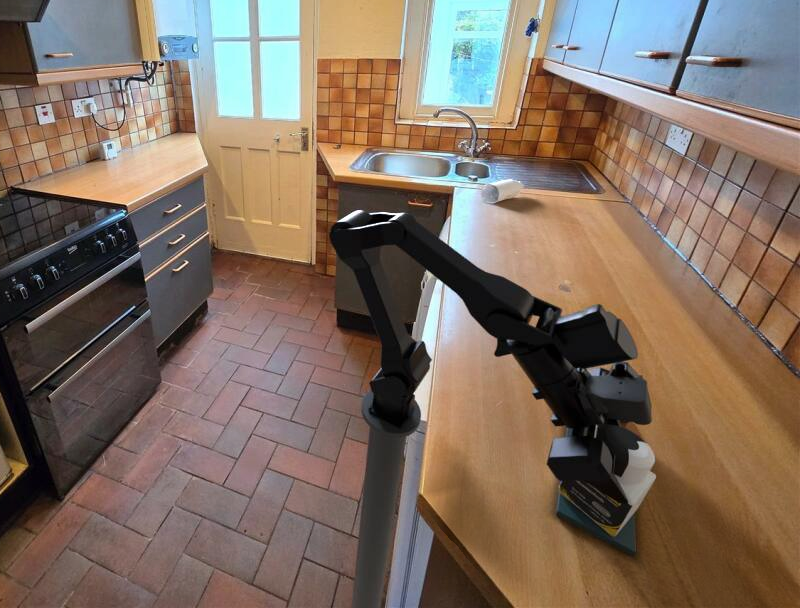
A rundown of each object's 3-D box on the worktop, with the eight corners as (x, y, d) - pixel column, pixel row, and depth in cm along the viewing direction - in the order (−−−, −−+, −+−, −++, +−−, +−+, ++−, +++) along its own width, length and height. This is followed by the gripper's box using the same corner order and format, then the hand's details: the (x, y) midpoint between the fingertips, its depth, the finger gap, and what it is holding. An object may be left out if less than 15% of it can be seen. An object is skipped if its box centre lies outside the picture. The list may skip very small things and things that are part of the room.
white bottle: (526, 198, 167) (531, 179, 164) (496, 206, 159) (500, 187, 156) (509, 192, 173) (513, 174, 170) (479, 199, 166) (482, 181, 162)
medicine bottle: (556, 490, 58) (582, 432, 53) (581, 465, 61) (608, 409, 56) (613, 538, 52) (648, 479, 47) (637, 508, 56) (673, 449, 50)
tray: (555, 514, 56) (557, 510, 56) (569, 400, 74) (571, 396, 73) (633, 556, 51) (636, 552, 51) (628, 424, 69) (630, 420, 68)
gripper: (613, 409, 42) (712, 545, 41) (622, 321, 55) (697, 421, 54) (513, 421, 50) (593, 536, 48) (541, 341, 63) (605, 429, 62)
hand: (625, 476), depth 53 cm, fingers closed on medicine bottle, 8 cm apart
